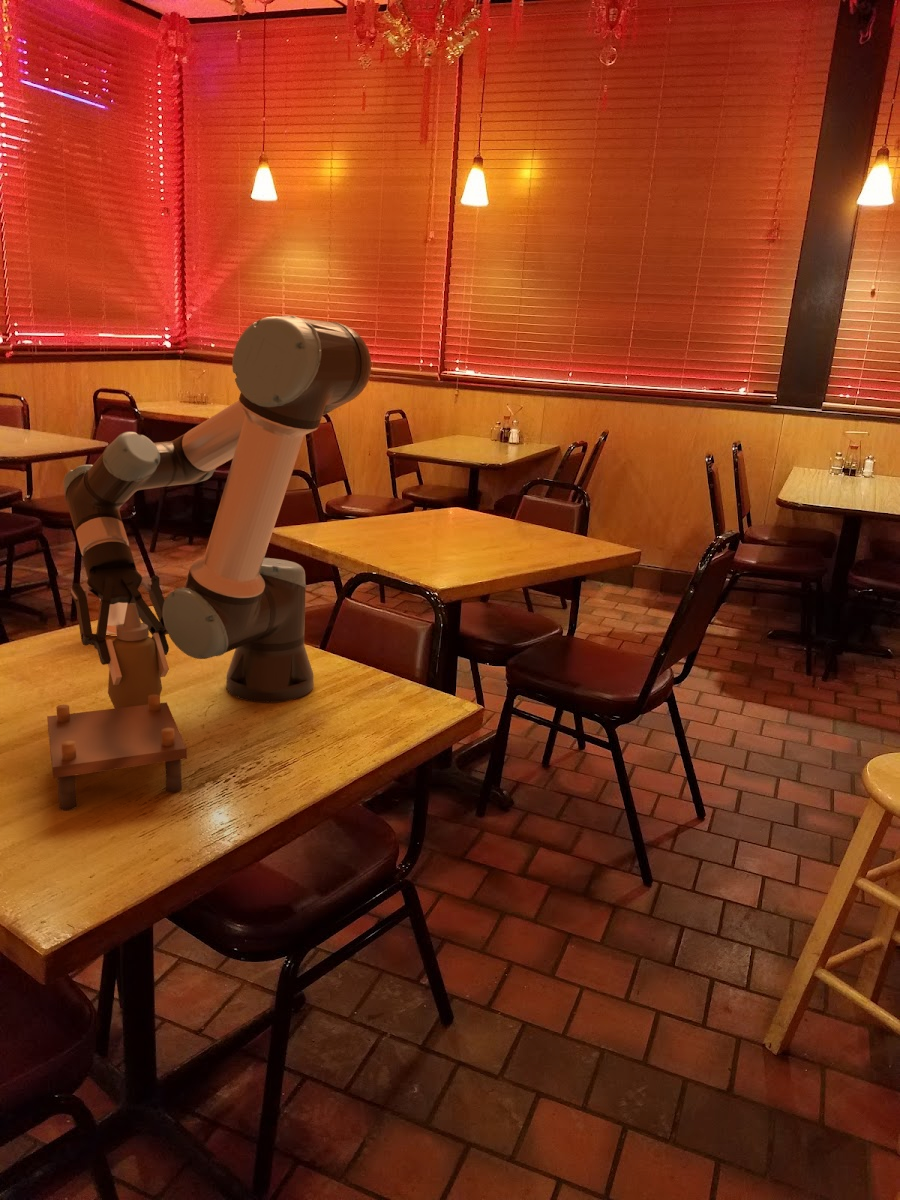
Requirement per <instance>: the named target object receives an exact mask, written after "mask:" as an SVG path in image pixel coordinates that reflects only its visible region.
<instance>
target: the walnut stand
mask: <svg viewBox="0 0 900 1200" xmlns="http://www.w3.org/2000/svg"><path fill="white" fill-rule="evenodd" d="M148 703H149V705H140V706H131V707H123V708H114V707H113V708H108V709H100V710H91V711H82V712H73V713H71V712H70V705H68V704H60V705H57V706H56V715H48V716H46V720H47V722H46V723H47V733H48V741H49V751H50V760H51V769H52V778H53V779H56V778H57V788H58V789H57V790H58V791H57V792H58V804H59V805H58V806H59V809H60V810H61V811H71V810H74V809H75V808H76V807H77V806H78V805H77V801H78V800H77V790H76V789H77V788H76V787H77V786H76V776H77V775H86V774H92V773H99V772H104V771H112V770H119V769H123V768H124V769H126V768H131V767H132V768H133V767H139V766H145V765H152V764H159V763H165V765H164V766H165V791H166V792H167V793H170V794H173V793H174V794H177V793H179V792H181V790H182V789H183V787H182V786H183V785H182V784H183V783H182V782H183V781H182V780H183V779H182V760H186V759H188V757H187V756H188V754H187V746H186V744H185V741H184V739H183V736H182V735H181V732H180V729H179V728H178V725H177V723H176V721H175V717H174V716H173V714H172V711H171V708H170V707H169V705H168V702H167V701H166V702H161V694H160V695H157V694H153V695H149V696H148Z"/></svg>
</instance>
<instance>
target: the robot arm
mask: <svg viewBox="0 0 900 1200" xmlns="http://www.w3.org/2000/svg"><path fill="white" fill-rule="evenodd" d="M231 363H232V365H231V366H232V373H234V374H235V376H236V378H235V379H234V382H235V385H236V387H237V389H238V390H239V391H240V394H239V396H238V401H237V400H236V402H234V403H232V404H231V405H229V406H228V407H226V408H224V409H222V410H221V411H218V412H217V413H216V414H214V415H212V416H211V417H209V418H208V419H206V420H204V421H203V422H201V423H199V424H198V425H196V426H194V427H193V428H191V429H189V430H188V431H187V432H185V433H183V434H182V435H180V436H177V438H175V439H174V440H171V441H160V442H159V441H158V442H153V441H152V439H150V438H149V437H147V436H146V435H144V434H138V433H137V432H136V431H124V432H122V433H120V434H119V435H118V436H117V437H116V438H114V440H113V441H112V442H110V443H109V444H108V445H107V446H106V447H105V449H104V450H103V452H102V453H101V454H100V455H99V457H98V458H97V459H96V461H95V462H94V463H93V464H82V465H78V466H76V467H75V468H74V469H69V471H67V472H66V473H65V475H64V477H63V480H62V485H63V489H64V500H65V503H66V505H67V508H68V512H69V515H70V518H71V523H72V525H73V529H74V532H75V535H76V539H77V543H78V547H79V550H80V554H81V556H82V562H83V567H84V570H85V574H86V576H87V580H86V582H83V583H81V584H80V583H78V582H74V583H73V584H72V585H71V586H72V587H71V589H70V596H71V598H72V600H73V602H74V603H75V607H76V613H77V618H78V619H77V620H78V626H79V633H80V639H81V644H82V645H83V646H84V647H85V646H93V648H94V649H95V650H96V651H97V654H98V658H99V662H100V664H101V665H103V666H104V665H108V668H109V669H108V670H110V673H111V677H112V681H113V685H118V684H119V683H120V680H121V678H122V675H121V672H120V668H119V664H118V661H117V657H116V653H115V650H114V646H113V640H112V639H111V638H109V639H106V637H107V636H106V632H107V624H108V616H109V608H110V604H115V603H118V602H119V603H128V604H129V603H135V604H136V607H137V611H138V615H139V618H140V621H141V623H144V624H147V625H148V629H149V633H150V634H151V638H152V639H153V640H154V641H155V644H156V653H157V662H158V670H159V674H160V677H161V678H165V677H166V676H167V674H168V671H169V670H170V667H169V664H168V660H167V655H168V653H169V651H170V647H169V644H168V639H167V638H166V635H168V636H169V638H170V640H171V641H172V642H173V644H174V645H175V646H176V647H177V648H178V649H179V650H180V651H181V653H183V654H185V655H186V656H188V657H190V658H194V659H199V660H207V659H211V658H214V657H220V656H222V655H224V654H226V653H228V652H230V651H233V650H234V651H233V652H234V653H233V655H232V658H231V661H230V664H229V667H228V670H227V673H226V690H227V691H228V693H229V694H231V695H232V696H233V697H235V698H239V699H241V700H245V701H249V702H256V703H279V702H287V701H292V700H296V699H300V698H302V697H304V696H306V695H308V694H309V693H311V691H312V690H313V689H314V672H313V668H312V665H311V662H310V659H309V657H308V653H307V650H306V646H305V625H306V624H305V623H306V622H305V619H306V618H305V617H306V589H307V588H308V587H307V584H306V571H305V569H304V567H303V566H302V565H301V564H299V563H297V562H295V561H290V560H287V559H280V558H272V557H271V558H270V557H265V556H266V554H267V550H268V547H269V543H270V541H271V539H272V534H273V532H274V528H275V526H276V523H277V519H278V517H279V514H280V511H281V507H282V504H283V501H284V500H285V497H286V496H285V495H286V492H287V490H288V486H289V483H290V480H291V478H292V475H293V471H294V468H295V465H296V463H297V460H298V456H299V452H300V450H301V447H302V444H303V440H304V438H305V436H306V435H308V434H310V433H313V432H315V431H317V430H318V429H319V427H320V424H321V421H322V417H323V416H324V415H325V416H326V415H327V414H329V413H330V412H332V411H334V410H336V409H339V408H340V407H342V406H344V405H346V404H348V403H350V402H351V401H353V400H355V399H356V398H357V397H359V395H361V393H362V392H363V391H364V390H365V388H366V387H367V385H368V383H369V381H370V377H371V373H372V359H371V354H370V350H369V347H368V345H367V344H366V342H365V340H364V339H363V338H362V336H361V335H360V334H359V333H358V332H356V331H355V330H354V329H352V327H350V326H348V325H345V324H342V323H340V322H337V321H336V322H335V321H327V320H326V321H325V320H317V319H309V318H302V317H297V316H295V315H279V316H273V315H272V316H266V317H263V318H260V319H258V320H257V321H254V322H253V323H251V324H250V325H248V327H246V329H245V330H244V331H243V332H242V333H241V335H240V337H239V339H238V340H237V342H236V344H235V348H234V351H233V355H232V362H231ZM231 460H232V461H231ZM229 461H231V465H230V468H229V470H228V475H227V478H226V482H225V485H224V488H223V492H222V495H221V499H220V502H219V505H218V508H217V511H216V516H215V519H214V521H213V525H212V529H211V533H210V536H209V539H208V542H207V546H206V550H205V552H204V555H203V556H201V557H199V558H197V559H195V560H194V561H192V562H191V564H190V567H189V571H188V574H187V577H186V581H185V584H184V585H183V586H182V587H181V586H180V587H179V586H178V587H177V588H175V589H173V591H171V592H170V593H168V594H167V595H166V597H165V598H164V595H163V593H162V591H161V589H160V577H159V575H156V574H155V575H152V577H146V576H145V577H144V576H142V574H141V573H139V572H138V569H137V567H136V563H135V562H136V561H135V560H134V556H133V553H132V549H131V547H130V541H129V539H128V536H127V532H126V529H125V527H124V522H123V520H122V517H121V512H120V509H121V507H122V506H123V505H124V504H125V503H126V502H128V500H129V499H130V498H131V497H132V496H133V495H134V494H135V493H136V492H137V491H142V490H149V489H157V488H158V489H159V488H163V487H172V486H181V485H194V484H198V483H201V482H204V481H207V480H209V479H210V478H211V477H213V474H214V472H215V471H216V469H217V468H219V467H220V466H222V465H224V464H225V463H227V462H229ZM140 586H143V588H144V590H145V592H148V596H149V599H150V602H151V604H152V607H153V609H154V611H155V614H154V612H153V611H152V609H151V608H150V607H149V605H148V604H147V602H146V601H145V600H144V599H143V595H142V594H141V592H140V591H139V588H140ZM89 592H91V594H93V595H94V596H95V597H97V598H98V599H99V609H98V611H99V612H98V617H97V618H98V619H97V626H96V633H93V630H92V629H93V628H92V623H91V617H90V612H89V611H90V610H89V605H88V603H89V602H88V598H87V597H88V594H89ZM100 599H101V600H100Z"/></svg>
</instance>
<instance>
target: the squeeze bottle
mask: <svg viewBox="0 0 900 1200" xmlns="http://www.w3.org/2000/svg"><path fill="white" fill-rule="evenodd" d="M116 630H117V637H116V638H115V639H113V640H112V642H113V646H114V650H115V653H116V657H117V661H118V664H119V668H120V672H121V675H122V678H121V680H120V683H119V684H118V685H113V681H112V677H111V673H110V670H109V669H108V670H109V671H108V683H107V684H108V685H107V688H108V689H107V694H108V697H109V698H110V701H111V703H112V705H113V709H114V708H123V707H131V706H140V705H149V703H148V696H149V695H153V694H157V695H160V696H161V694H162V691H163V685H162V679H161V678H162V677H160V674H159V670H158V662H157V653H156V644H155V641H154V640H153V639H152V636H149V635H150V634H149V633H150V631H149V629H148V625H147V624H144V623H143V622H142V621H141V619H140V618H139V615H138V611H137V607H136V604H135V603H129V604H127V609H126V615H125V620H124V624H121V625H119V626H117V628H116Z"/></svg>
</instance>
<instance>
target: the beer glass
mask: <svg viewBox="0 0 900 1200" xmlns="http://www.w3.org/2000/svg"><path fill="white" fill-rule="evenodd" d="M100 600H101V599H99V601H100ZM127 604H128V603H119V602H118V603H115V604H110V608H109V616H108V624H107V632H106V634H109V635H117V630H116V628H117V626H119V625H121V624H124V620H125V615H126V609H127Z"/></svg>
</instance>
